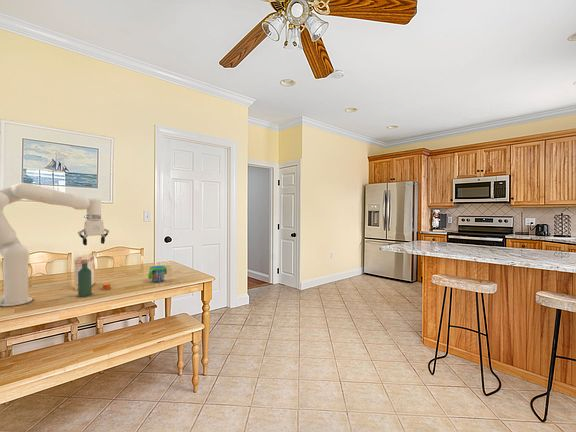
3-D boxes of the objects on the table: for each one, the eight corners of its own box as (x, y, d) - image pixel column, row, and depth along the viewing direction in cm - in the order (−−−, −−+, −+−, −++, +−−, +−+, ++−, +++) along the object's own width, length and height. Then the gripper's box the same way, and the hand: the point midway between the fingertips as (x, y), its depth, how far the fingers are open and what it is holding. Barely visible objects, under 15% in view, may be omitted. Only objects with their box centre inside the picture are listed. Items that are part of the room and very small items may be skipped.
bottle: (81, 297, 160) (80, 264, 160) (76, 295, 164) (75, 263, 163) (93, 294, 166) (93, 262, 165) (88, 293, 169) (88, 261, 169)
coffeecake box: (82, 284, 188) (82, 255, 188) (94, 283, 191) (94, 254, 190) (74, 290, 174) (73, 259, 174) (87, 289, 177) (87, 258, 176)
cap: (107, 289, 176) (107, 285, 176) (101, 289, 176) (101, 285, 176) (111, 288, 180) (111, 283, 180) (105, 288, 180) (105, 283, 180)
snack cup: (161, 277, 207) (161, 264, 207) (172, 279, 203) (172, 265, 203) (142, 282, 193) (142, 268, 193) (154, 284, 189) (154, 269, 189)
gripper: (80, 217, 169) (80, 246, 169) (111, 217, 183) (111, 243, 183) (75, 217, 173) (75, 245, 173) (106, 217, 187) (106, 242, 188)
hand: (94, 244), depth 178 cm, fingers open, 9 cm apart
